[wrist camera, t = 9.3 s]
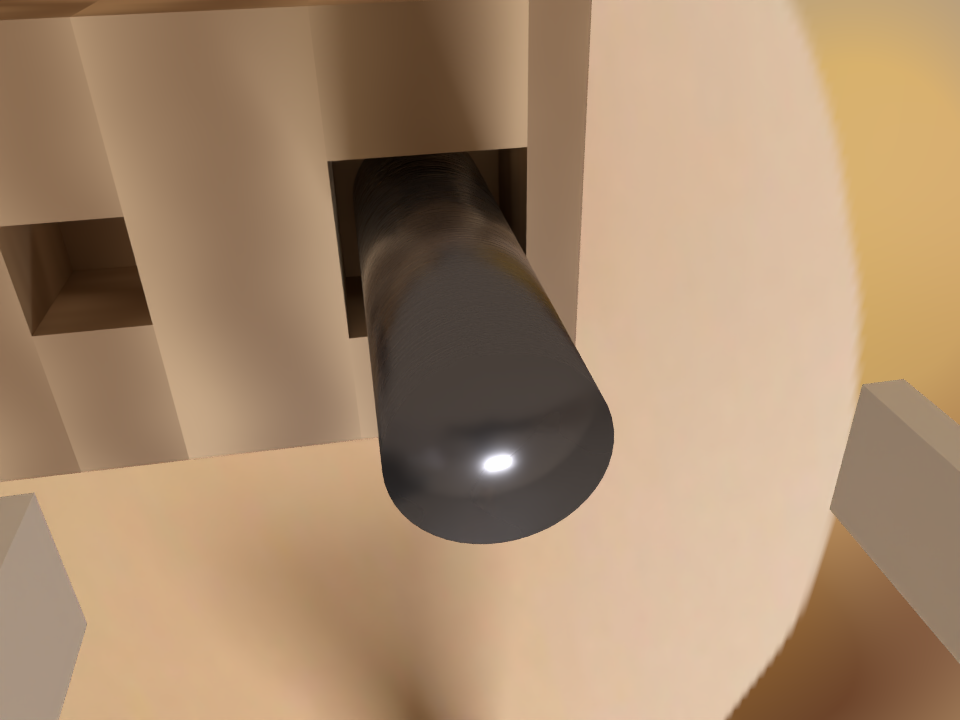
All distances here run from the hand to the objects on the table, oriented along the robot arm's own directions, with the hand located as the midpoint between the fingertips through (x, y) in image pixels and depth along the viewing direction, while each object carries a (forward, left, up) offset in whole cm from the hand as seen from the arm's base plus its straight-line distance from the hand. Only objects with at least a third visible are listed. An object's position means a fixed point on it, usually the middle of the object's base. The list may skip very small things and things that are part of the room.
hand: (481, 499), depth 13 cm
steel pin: (0, 0, -14) cm, 14 cm away
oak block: (-4, 0, -15) cm, 15 cm away
